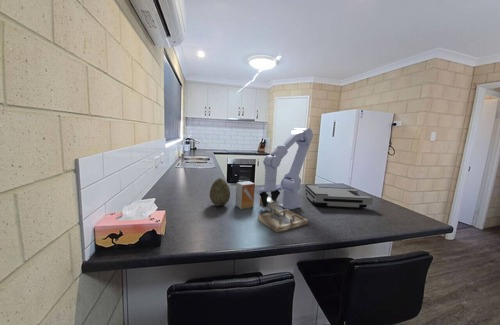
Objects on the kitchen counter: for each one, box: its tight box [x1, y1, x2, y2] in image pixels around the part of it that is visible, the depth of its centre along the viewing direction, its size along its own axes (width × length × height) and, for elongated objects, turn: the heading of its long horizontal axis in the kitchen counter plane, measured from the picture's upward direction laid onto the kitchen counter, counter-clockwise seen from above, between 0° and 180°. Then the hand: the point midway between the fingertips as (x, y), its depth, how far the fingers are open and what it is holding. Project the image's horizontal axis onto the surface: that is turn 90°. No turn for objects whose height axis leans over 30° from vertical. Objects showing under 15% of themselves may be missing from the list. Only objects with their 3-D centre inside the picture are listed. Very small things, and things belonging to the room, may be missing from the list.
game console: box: [304, 184, 374, 211], centre depth 125 cm, size 21×32×8 cm, turn 91°
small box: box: [235, 180, 256, 210], centre depth 111 cm, size 8×6×13 cm
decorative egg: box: [209, 177, 231, 207], centre depth 109 cm, size 11×11×15 cm
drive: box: [259, 196, 280, 213], centre depth 105 cm, size 5×9×5 cm, turn 32°
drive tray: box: [257, 208, 308, 233], centre depth 95 cm, size 18×14×4 cm
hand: (268, 205), depth 105 cm, fingers closed on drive, 5 cm apart
